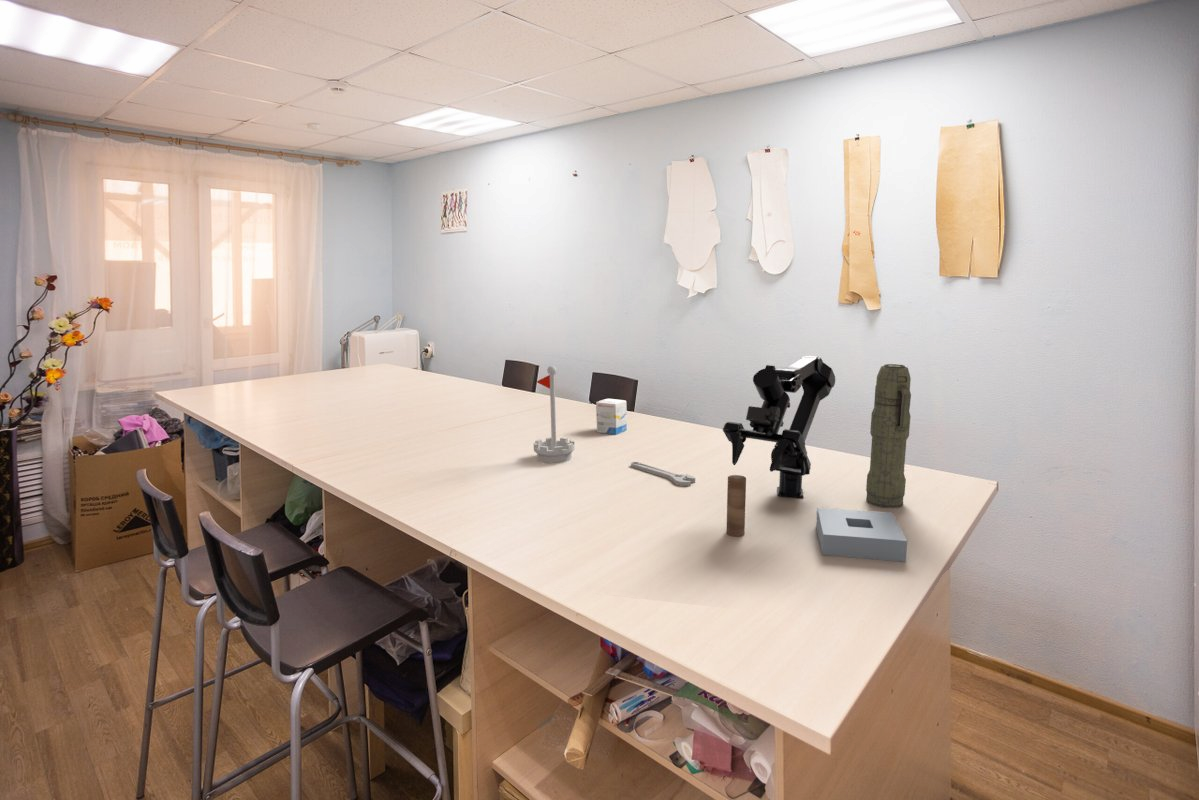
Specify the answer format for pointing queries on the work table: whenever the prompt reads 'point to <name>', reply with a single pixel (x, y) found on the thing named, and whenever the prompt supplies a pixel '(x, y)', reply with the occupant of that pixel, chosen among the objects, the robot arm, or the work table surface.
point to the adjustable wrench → (666, 474)
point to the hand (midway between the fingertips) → (751, 467)
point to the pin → (736, 505)
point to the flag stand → (553, 430)
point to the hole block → (860, 534)
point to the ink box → (611, 416)
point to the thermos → (889, 437)
